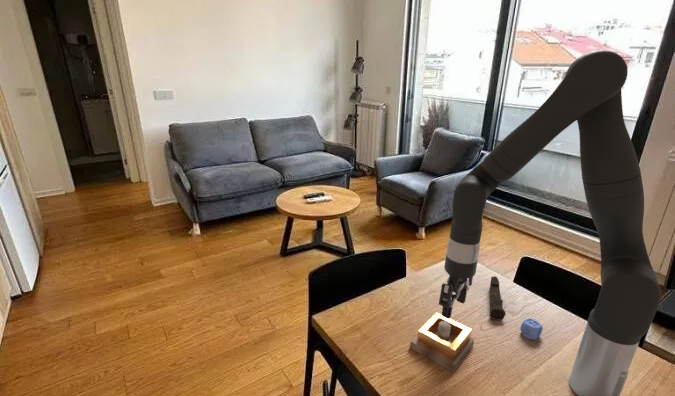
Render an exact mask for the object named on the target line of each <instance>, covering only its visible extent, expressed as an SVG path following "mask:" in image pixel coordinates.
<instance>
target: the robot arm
mask: <svg viewBox="0 0 675 396" xmlns="http://www.w3.org/2000/svg"><path fill="white" fill-rule="evenodd" d="M627 78H628V65H627V63H626V61H625V59H624V58H623V57H622V56H621V55H620V54H618V53H616V52H614V51H613V50H604V49H602V50H600V49H598V50H592V51H589V52H587V53H584V54H582V55H580V56H579V57H577V58H576V59H575V60H574V61H572V63H571V64H570V65H569V66H568V69H566V72H565V76H564V77H563V79H562V80H561V81H560V83H559V84H558V86H557V87H556V88H555V89H554V90H553V92H552V93H551V95H549V97H548V98H547V99H546V100H545V102H543V103H542V104H541V106H540V107H538V108H537V109H536V111H534V113H532V114H531V115H530V116H529V117H528V118H527V119H525V120H524V121H523V122H522V123H521V124H519V125H518V126H517V127H516V128H514V130H513V131H511V132H510V133H509V134H508V135H507V136H506V137H505V138H503V139H502V140H501V141H500V142H499V143H498V144H497V145H496V146H495V147H494V148H493V149H492V150H491V151H490V152H489V153H488V154H487V155H486V156H485V158H484V159H483V160H482V161H481V162H480V163H479V164H477V165H476V166H475V167H474V168H472V169H471V170H470V171H469V172H468V173H467V174H466V175H465V176H463V177H462V179H461V180H460V181H459V183H458V184H457V185H456V187H455V189H454V191H453V197H452V220H451V226H450V230H449V231H450V232H449V239H448V240H447V241H448V242H447V246H446V254H445V258H444V259H445V261H444V270H445V272H446V273H447V274H448V275H449V276H448V277H447V280H446V283H445V282H443V283H442V284H441V288H440V289H441V290H440V294H439V301H438V305H439V306H441V307H442V308H441V315H442V316H443V317H446V318H448V319H451V317H452V314H453V313H452V312H453V306H454V305H455V304H454V303H455V301H457V302H459V303H461V304H464V303H465V302H466V298H467V293H468V290H469V289H470V287H471V286H472V284H473V277H474V276H475V275H476V272H477V267H478V260H479V255H480V249H481V238H482V231H483V220H482V219H483V217H484V212H485V211H484V209H485V207H486V206H485V205H486V202H487V199H488V197H489V196H490V195H491V193H493V192H494V191H495V190H496V189H497V188H498V187H499V186H500V185H502V183H504V182H507V181H509V180H510V179H512V178H513V177H514V176H515V175H516V174H518V173H519V172H520V171H521V170H522V169H523V168H524V167H525V166H527V164H528V163H530V162H531V161H532V160H533V159H534V158H535V157H536V156H537V155H538V154H539V153H540V152H542V151H543V149H545V147H547V146H548V145H549V143H550V144H551V142H552V141H553V140H554V139H555V138H557V137H558V136H559V135H560V134H561V133H562V132H564V131H565V130H566V129H567V128H568V127H570V126H571V125H572V124H573V123H575V122H577V126H578V132H579V133H578V136H579V158H580V171H581V178H582V183H583V184H582V186H583V188H584V189H583V190H584V191H583V192H584V197H585V200H586V205H587V207H588V212H589V214H590V217H591V219H592V221H593V224H594V226H595V229H596V230H597V234H598V239H599V249H600V283H601V288H600V291H599V293H598V298H597V301H596V303H595V306H594V308H592V309H591V311H590V313H589V315H588V319H587V322H586V325H585V329H584V331H583V334H582V337H581V340H580V344H579V347H578V350H577V352H576V353H577V354H576V357H575V359H574V362H573V365H572V369H571V372H570V374H569V378H568V383H569V386H570V388H571V390H572V391H573V392H574V393H575V394H576V395H577V396H621V395H622V390H623V389H624V385H625V384H626V381H627V379H628V376H629V375H628V374H629V369H630V368H631V364H632V362H633V359H634V356H635V354H636V352H637V349H638V346H639V344H640V341H641V339H642V337H643V336H645V335H646V334H647V332H648V331H649V329H650V327H651V325H652V322H653V320H654V318H655V316H656V313H657V311H658V309H659V305H660V303H661V300H662V289H661V286H660V283H659V281H658V279H657V275H656V272H655V270H654V267H653V265H652V263H651V260H650V257H649V253H648V250H647V247H646V243H645V239H644V233H643V227H644V225H643V224H644V216H645V215H644V214H645V193H644V185H643V177H642V172H641V168H640V162H639V159H638V155H637V153H636V150H635V147H634V144H633V142H632V139H631V137H630V134H629V131H628V129H627V126H626V122H625V118H624V110H623V99H622V88H623V87H624V86H625V84H626V81H627V80H628V79H627ZM453 293H454V294H453Z"/></svg>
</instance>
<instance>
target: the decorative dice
mask: <svg viewBox="0 0 675 396" xmlns="http://www.w3.org/2000/svg"><path fill="white" fill-rule="evenodd" d="M519 329H520V332H521V334H522V335H523V337H525V338H527V339H528V340H538V339H539V338H540V336H541V335H542V332H543V326H542V324H541V323H540V322H539V321H538V320H536V319H535V318H525V319H524V320H523V321H522V323H521V325H520V328H519Z"/></svg>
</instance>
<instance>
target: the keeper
mask: <svg viewBox="0 0 675 396" xmlns="http://www.w3.org/2000/svg"><path fill="white" fill-rule="evenodd" d="M450 329H451V325H450V324H449V323H448V322H445V321H441V322H439V326H438V327H437V328H436V329H435V330H434V331H433V332H432V334H434V335H436V336H438V337H440V338H442V339H444V340H446V341H447V342H449V343H451V344H452V343H453V342H454V341H455V339H456V338H457V337H458V336H456V335H454V334H452V333H450ZM417 338H418V334H416V335H415V336H414V337H413V338H412V339H411V340H410V342H409V343H410V344H409V349H411V350H413V351H415V352H417V353H419V354H421V355H422V356H423V357H426V358H427V359H428V360H430V361H432V362H434V363H436V364H437V365H439V366H441V367H443V368H444V369H446V370H448V371H449V372H452V373H454V372H455V371H456V369H457V368H458V366H459V365H460V364H461V363H462V361H463V360H464V359H465V358H466V356H467V354H469V352H470V351H471V349H472V348H473V347H474V342H475V339H474V338H472V337H470V339H469V340H468V342H467V343H466V344H465V346H464V347H463V348H462V349H461V351H460V352H459V353H458V354H457V356H456V357H455V358H454V360H453V359H451V358H449V357H447V356H446V355H444V354H442V353H440V352H438V351H436V350H435V349H433V348H431V347H429V346H427V345H426V344H424V343H422V342H420V341H418V340H417Z"/></svg>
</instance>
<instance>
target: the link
mask: <svg viewBox="0 0 675 396" xmlns="http://www.w3.org/2000/svg"><path fill="white" fill-rule="evenodd" d="M441 321H445V322H448V323H449V324H450V325H451V329H450V333H452V334H454V335H456V336H458V337H457V338H456V339H455V341H454V342H453V343H452V344H451V343H449V342H447V341H446V340H444V339H442V338H440V337H438V336H436V335H434V334H432V332H433V331H434V330H435V329H436V328H437V327H438V326H439V322H441ZM417 335H418V338H417V340H418V341H420V342H422V343H424V344H426V345H427V346H429V347H431V348H433V349H435V350H436V351H438V352H440V353H442V354H444V355H446V356H447V357H449V358H451V359H453V360H454V358H455V357H456V356H457V354H458V353H459V352H460V351H461V349H462V348H463V347H464V346H465V344H466V343H467V342H468V340H469V339H470V338H471V336H472V328H470V327H468V326H466V325H464V324H462V323H460V322H457V321H455V320H453V319H452V318H449V319H448V318H446V317H443V316H442V313H439V312H435V314H434V315H432V317H431V318H430V319H428V320H427V322H425V323H424V325H422V326H421V327H420V328H419V329H418V333H417Z"/></svg>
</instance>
